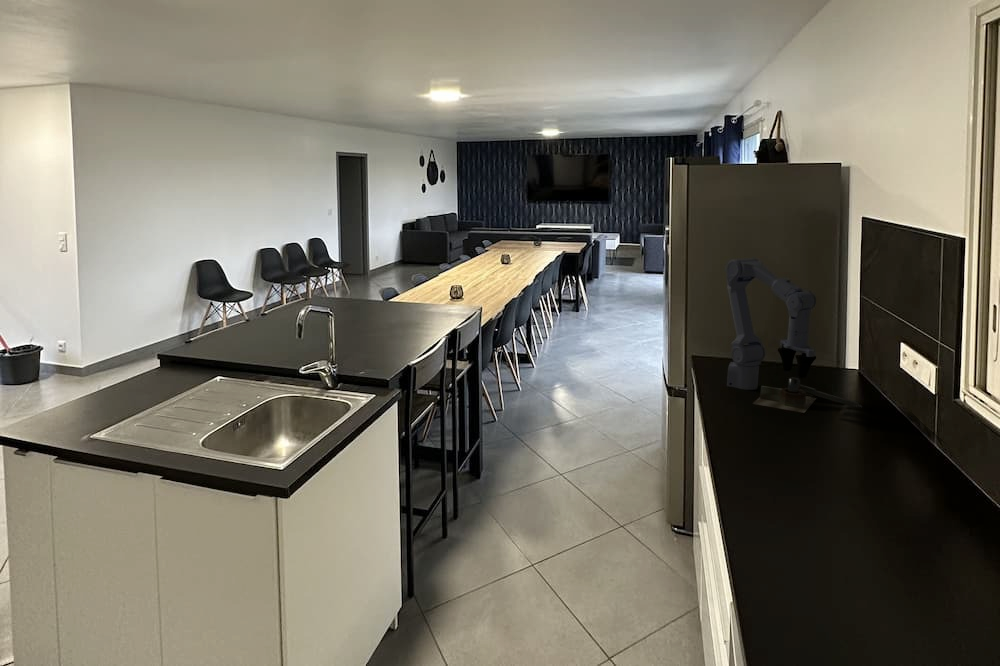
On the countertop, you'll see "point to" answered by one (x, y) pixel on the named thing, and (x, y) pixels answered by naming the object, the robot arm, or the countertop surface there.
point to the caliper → (828, 396)
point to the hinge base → (778, 405)
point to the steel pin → (793, 385)
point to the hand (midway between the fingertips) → (794, 374)
